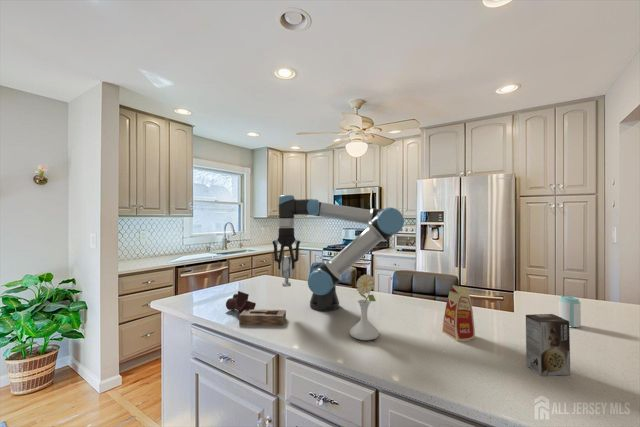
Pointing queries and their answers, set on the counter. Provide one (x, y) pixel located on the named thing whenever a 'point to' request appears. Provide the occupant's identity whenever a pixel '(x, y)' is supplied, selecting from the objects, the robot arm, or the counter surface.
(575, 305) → the can
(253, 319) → the keyhole block
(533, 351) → the grey cardboard box
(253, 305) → the dark brown lumpy piece
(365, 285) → the flower in vase
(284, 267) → the steel peg
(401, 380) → the counter surface
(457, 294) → the milk carton
